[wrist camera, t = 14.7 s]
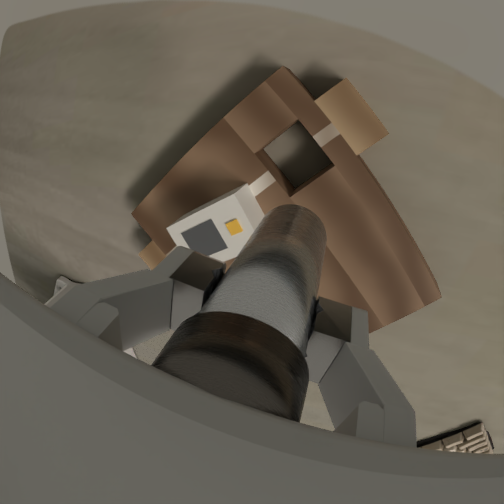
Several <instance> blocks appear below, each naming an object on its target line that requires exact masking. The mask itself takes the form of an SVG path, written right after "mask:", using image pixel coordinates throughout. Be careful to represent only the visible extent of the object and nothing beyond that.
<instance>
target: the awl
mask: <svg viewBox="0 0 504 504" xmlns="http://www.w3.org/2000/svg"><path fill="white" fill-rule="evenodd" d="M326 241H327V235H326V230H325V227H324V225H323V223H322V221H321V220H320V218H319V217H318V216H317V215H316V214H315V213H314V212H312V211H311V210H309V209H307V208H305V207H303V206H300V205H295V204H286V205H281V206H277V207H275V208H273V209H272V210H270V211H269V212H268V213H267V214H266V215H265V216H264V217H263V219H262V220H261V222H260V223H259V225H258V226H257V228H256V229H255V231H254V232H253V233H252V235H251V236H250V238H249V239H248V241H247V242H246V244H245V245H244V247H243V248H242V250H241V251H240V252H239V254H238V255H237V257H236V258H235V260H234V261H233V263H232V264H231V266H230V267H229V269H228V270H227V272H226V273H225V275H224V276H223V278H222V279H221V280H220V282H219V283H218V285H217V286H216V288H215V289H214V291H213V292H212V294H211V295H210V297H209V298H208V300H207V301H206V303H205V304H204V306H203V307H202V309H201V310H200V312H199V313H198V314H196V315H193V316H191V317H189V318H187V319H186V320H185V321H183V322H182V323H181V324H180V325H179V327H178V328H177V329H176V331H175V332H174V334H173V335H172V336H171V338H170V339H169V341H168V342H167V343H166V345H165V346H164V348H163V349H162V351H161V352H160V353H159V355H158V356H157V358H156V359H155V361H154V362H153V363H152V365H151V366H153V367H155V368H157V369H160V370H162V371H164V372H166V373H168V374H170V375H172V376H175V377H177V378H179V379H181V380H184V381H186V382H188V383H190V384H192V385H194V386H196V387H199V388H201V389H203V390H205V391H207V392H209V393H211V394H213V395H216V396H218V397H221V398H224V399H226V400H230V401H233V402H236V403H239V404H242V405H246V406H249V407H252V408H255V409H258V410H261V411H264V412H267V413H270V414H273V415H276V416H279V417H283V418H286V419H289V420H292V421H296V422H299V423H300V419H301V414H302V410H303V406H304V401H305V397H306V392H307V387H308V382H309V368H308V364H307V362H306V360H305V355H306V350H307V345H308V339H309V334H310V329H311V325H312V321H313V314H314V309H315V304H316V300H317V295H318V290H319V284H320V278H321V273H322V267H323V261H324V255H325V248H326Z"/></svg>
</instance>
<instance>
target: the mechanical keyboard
mask: <svg viewBox="0 0 504 504" xmlns="http://www.w3.org/2000/svg"><path fill="white" fill-rule="evenodd" d="M416 443H417V448H423V449H431V450H441V451H451V452H465V453H486V454H493V449H494V446H493V443H492V439H491V437H490V434H489V432H487V431H486V430H485V428H484V425H483V423H482V422H481V423H475V424H472V425H470V426H468V427H465V428H462V429H459V430H455V431H451V432H447V433H444V434H441V435H437V436H434V437H431V438H428V439H425V440H421V441H418V442H416Z"/></svg>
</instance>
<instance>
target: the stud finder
mask: <svg viewBox="0 0 504 504" xmlns="http://www.w3.org/2000/svg"><path fill="white" fill-rule="evenodd" d="M264 216H265V215H264V213H263V211H262V209H261V208H260V206H259V204H258V202H257V200H256V198H255V196H254V195H253V193H252V191H251V189H250V187H249V185H248V183H246V184H244V185H242V186H240V187H238V188H236V189H234V190H232V191H230V192H228V193H226V194H224V195H222V196H220V197H218V198H216V199H214V200H212V201H210V202H208V203H206V204H204V205H202V206H200V207H198V208H196V209H194V210H192V211H190V212H188V213H187V214H185V215H183V216H182V217H180V218H179V219H178V220H176V221H175V222H174V223H172V224H171V225H170V226H168V227H167V228H166V229H167V230H168V232H169V234H170V235H171V237H172V239H173V240H174V242H175V244H176V245H177V247H178V246H183V247H186V248H189V249H192V250H194V251H197V252H199V253H202V254H204V255H207V256H210V257H212V258H215V259H217V260H220V261H223V262H224V261H227V260H230V259H232V258H235V257H237V255H238V254H239V252H240V251H241V250H242V248H243V247H244V245H245V244H246V242H247V241H248V239H249V238H250V236H251V235H252V233H253V232H254V231H255V229H256V228H257V226H258V225H259V223H260V222H261V220H262V219H263V217H264Z"/></svg>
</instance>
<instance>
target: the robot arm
mask: <svg viewBox="0 0 504 504" xmlns="http://www.w3.org/2000/svg"><path fill="white" fill-rule="evenodd" d="M225 271H226V263H225V262H223V261H220V260H217V259H215V258H212V257H210V256H207V255H204V254H202V253H199V252H197V251H194V250H192V249H189V248H186V247H183V246H178V247H176V248H175V249H174V250H173V251H172V252H171V253H170V254H169V255H168V256H167V257H166V258H165V259H164V260H162V261H161V262H160V263H159V264H158V265H157V266H156V267H155V268H154V269H153V270H152V271H151V270H149V269H146V270H141V271H137V272H132V273H128V274H123V275H119V276H115V277H110V278H106V279H101V280H97V281H92V282H88V283H84V284H80V283H74V282H72V281H70V280H69V279H67V278H65V277H64V276H60V277H59V278H58V279H57V281H56V285H55V290H54V296H53V297H52V298H51V299H49V300H48V301H47V302H46V303H45V304H43V303H41V302H40V301H39V300H37V299H36V298H34V297H33V296H31V295H30V294H28V293H27V292H26V291H24V290H23V289H21V288H20V287H19V286H17V285H16V284H15V283H13V282H12V281H11V280H9V279H8V278H7V277H5V276H4V275H2V274H1V273H0V504H504V454H486V453H465V452H451V451H441V450H431V449H423V448H417V443H416V418H415V411H414V409H413V408H412V406H411V405H410V403H409V402H408V400H407V399H406V397H405V396H404V394H403V393H402V391H401V390H400V388H399V387H398V385H397V384H396V382H395V381H394V379H393V378H392V376H391V375H390V373H389V372H388V371H387V369H386V368H385V366H384V365H383V363H382V362H381V360H380V359H379V358H378V356H377V355H376V353H375V352H374V350H371V349H369V326H368V312H367V311H366V310H363V309H360V308H356V307H353V306H349V305H345V304H342V303H339V302H336V301H333V300H330V299H327V298H324V297H321V296H318V298H317V300H316V304H315V309H314V314H313V321H312V325H311V329H310V334H309V339H308V345H307V350H306V355H305V360H306V362H307V364H308V368H309V381H312V382H315V383H318V386H319V388H320V391H321V394H322V396H323V399H324V401H325V404H326V407H327V409H328V412H329V414H330V417H331V420H332V422H333V425H334V428H335V430H334V431H329V430H325V429H321V428H317V427H314V426H310V425H306V424H303V423H299V422H296V421H292V420H289V419H286V418H283V417H279V416H276V415H273V414H270V413H267V412H264V411H261V410H258V409H255V408H252V407H249V406H246V405H242V404H239V403H236V402H233V401H230V400H226V399H224V398H221V397H218V396H216V395H213V394H211V393H209V392H207V391H205V390H203V389H201V388H199V387H196V386H194V385H192V384H190V383H188V382H186V381H184V380H181V379H179V378H177V377H175V376H172V375H170V374H168V373H166V372H164V371H162V370H160V369H157V368H155V367H153V366H151V365H149V364H147V363H145V362H143V361H141V360H139V359H137V358H136V356H135V353H134V351H133V348H132V347H134V346H136V345H138V344H140V343H143V342H145V341H147V340H149V339H151V338H153V337H156V336H158V335H160V334H162V333H164V332H166V331H169V329H172V330H174V331H176V329H177V328H178V327H179V325H180V324H181V323H182V322H183V321H185V320H186V319H187V318H189V317H191V316H193V315H196V314H198V313H199V312H200V310H201V309H202V307H203V306H204V304H205V303H206V301H207V300H208V298H209V297H210V295H211V294H212V292H213V291H214V289H215V288H216V286H217V285H218V283H219V282H220V280H221V279H222V278H223V276H224V275H225Z"/></svg>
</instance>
